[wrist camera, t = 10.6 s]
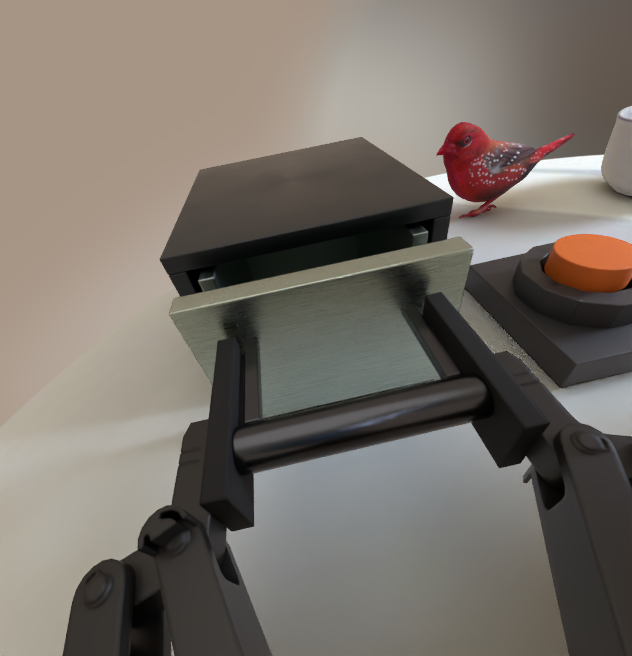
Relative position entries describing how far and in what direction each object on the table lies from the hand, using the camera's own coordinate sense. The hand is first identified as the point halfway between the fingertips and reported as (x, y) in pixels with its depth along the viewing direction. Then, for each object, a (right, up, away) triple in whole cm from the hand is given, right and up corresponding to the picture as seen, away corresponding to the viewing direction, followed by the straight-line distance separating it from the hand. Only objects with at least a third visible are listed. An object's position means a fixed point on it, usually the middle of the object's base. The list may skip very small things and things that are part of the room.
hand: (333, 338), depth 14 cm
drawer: (0, -1, +8) cm, 8 cm away
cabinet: (-1, +3, +13) cm, 14 cm away
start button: (+17, +4, +6) cm, 18 cm away
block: (+17, +1, +8) cm, 19 cm away
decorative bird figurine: (+20, +14, +22) cm, 33 cm away
